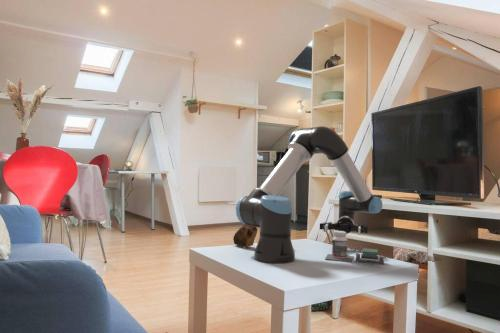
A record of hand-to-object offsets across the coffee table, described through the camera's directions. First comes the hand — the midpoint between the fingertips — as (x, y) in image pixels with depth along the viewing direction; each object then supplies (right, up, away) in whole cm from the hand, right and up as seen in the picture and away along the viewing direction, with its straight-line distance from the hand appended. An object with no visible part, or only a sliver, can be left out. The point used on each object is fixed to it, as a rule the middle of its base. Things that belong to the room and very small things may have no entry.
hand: (342, 230), depth 155 cm
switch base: (+7, -9, -15) cm, 19 cm away
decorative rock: (-40, -9, +9) cm, 42 cm away
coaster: (-3, -9, -10) cm, 14 cm away
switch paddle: (+7, -7, -15) cm, 18 cm away
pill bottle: (-3, -9, -10) cm, 14 cm away
